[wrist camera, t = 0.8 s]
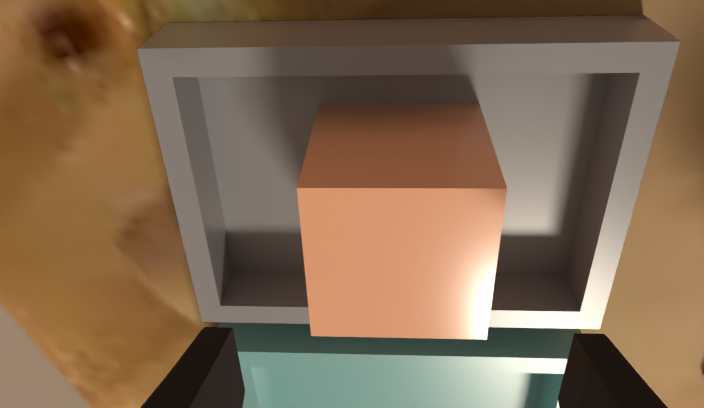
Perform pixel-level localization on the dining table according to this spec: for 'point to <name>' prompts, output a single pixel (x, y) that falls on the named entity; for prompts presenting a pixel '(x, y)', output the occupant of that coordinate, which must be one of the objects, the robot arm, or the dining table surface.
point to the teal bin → (400, 368)
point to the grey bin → (409, 89)
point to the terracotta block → (400, 221)
